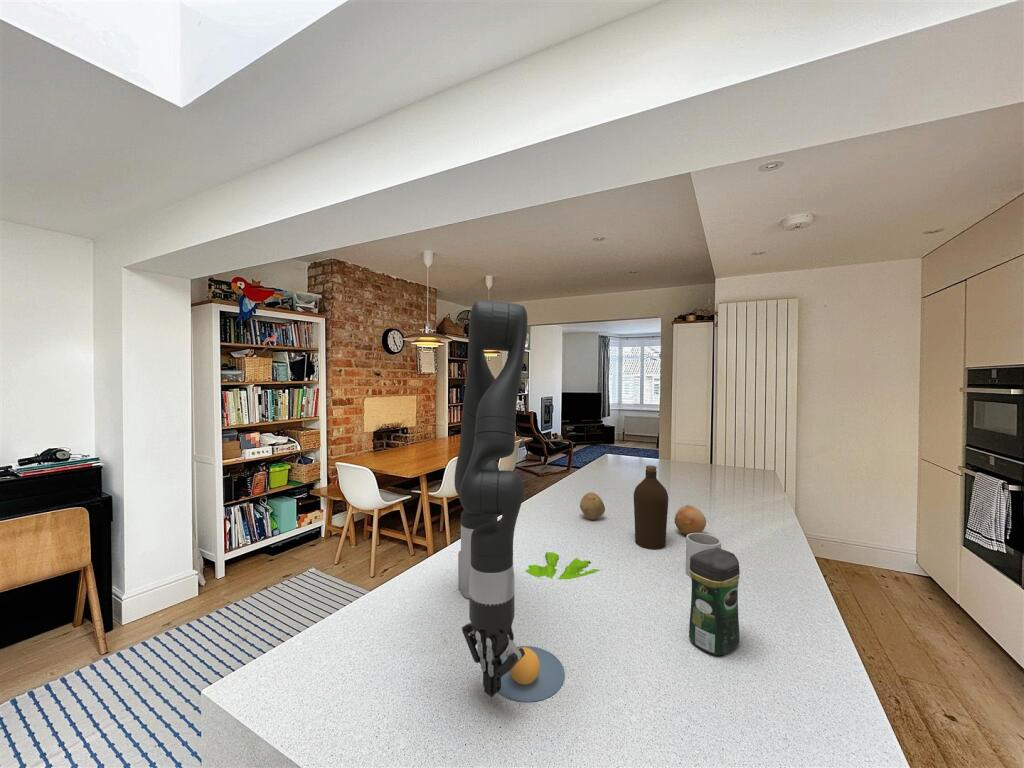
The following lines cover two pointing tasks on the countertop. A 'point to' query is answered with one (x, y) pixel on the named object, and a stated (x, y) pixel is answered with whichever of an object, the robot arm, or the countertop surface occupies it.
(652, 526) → the olive oil
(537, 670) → the ball
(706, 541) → the mug
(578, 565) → the leaves
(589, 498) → the potato
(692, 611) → the coffee jar
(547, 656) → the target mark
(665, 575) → the countertop surface
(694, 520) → the onion
